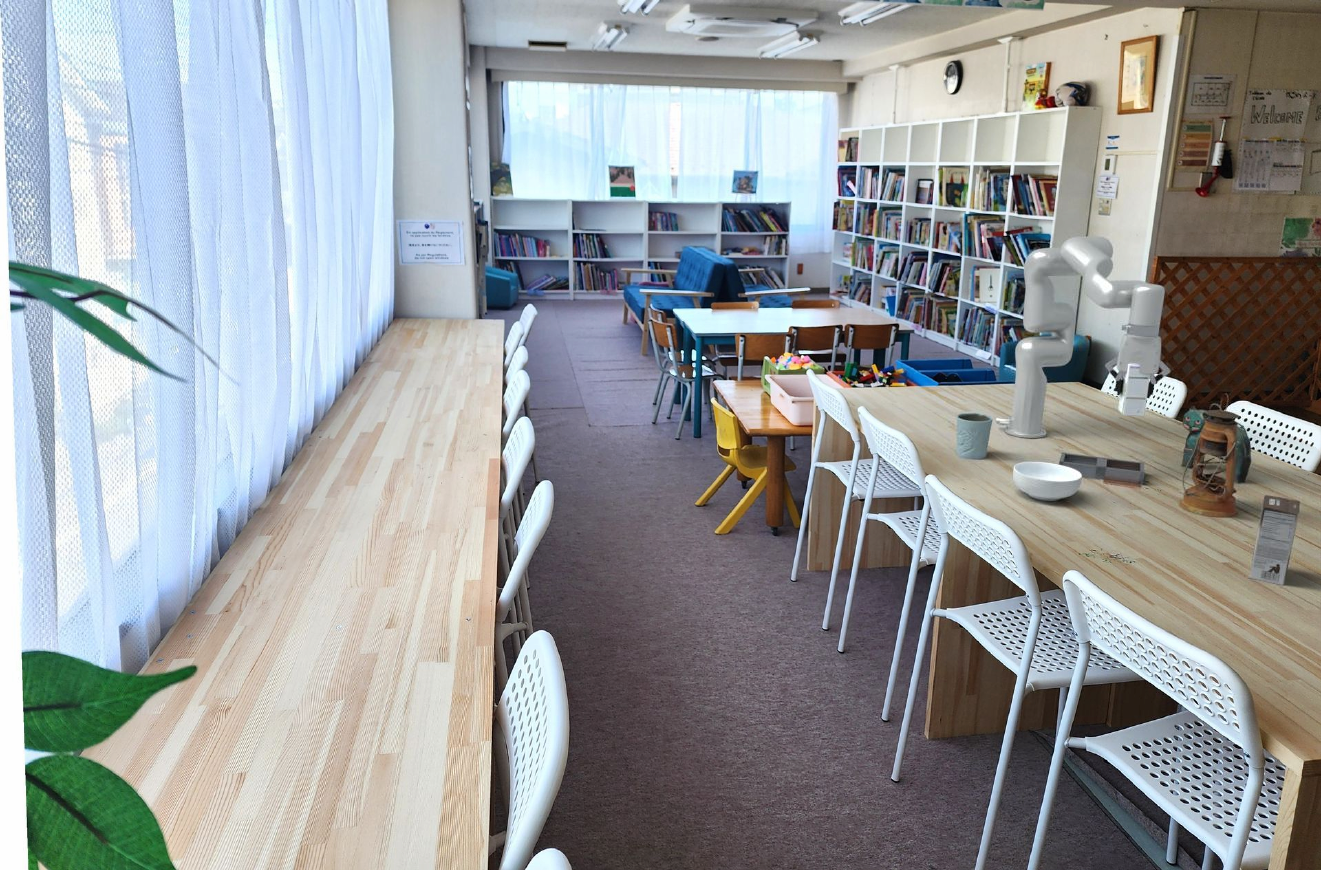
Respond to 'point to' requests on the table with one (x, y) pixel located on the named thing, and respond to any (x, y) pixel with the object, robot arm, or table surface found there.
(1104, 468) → the holder
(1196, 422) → the ceramic cat
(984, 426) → the embossed ceramic cup
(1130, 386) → the syrup box
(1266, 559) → the coffee box
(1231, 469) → the lantern
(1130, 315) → the robot arm
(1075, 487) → the cereal bowl
